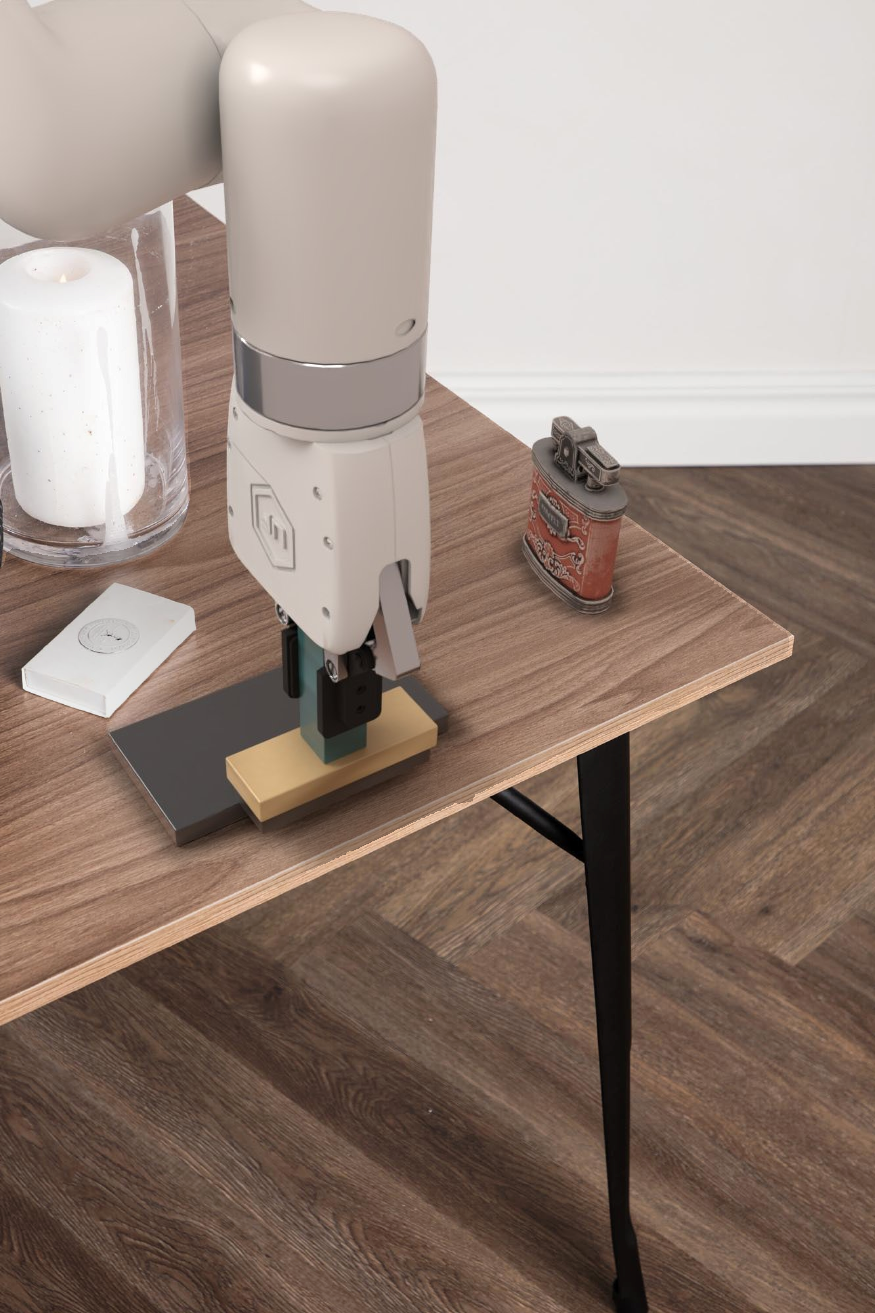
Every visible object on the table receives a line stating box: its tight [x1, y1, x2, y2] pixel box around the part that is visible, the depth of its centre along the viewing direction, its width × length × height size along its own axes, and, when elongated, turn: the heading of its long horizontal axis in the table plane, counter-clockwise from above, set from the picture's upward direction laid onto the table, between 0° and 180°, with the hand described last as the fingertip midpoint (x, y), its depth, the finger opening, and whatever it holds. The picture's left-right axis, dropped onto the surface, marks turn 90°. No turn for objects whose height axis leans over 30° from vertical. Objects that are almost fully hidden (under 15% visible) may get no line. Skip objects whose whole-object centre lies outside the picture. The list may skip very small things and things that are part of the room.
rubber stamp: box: [226, 626, 438, 835], centre depth 67 cm, size 10×4×11 cm, turn 124°
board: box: [107, 665, 450, 847], centre depth 75 cm, size 16×8×1 cm, turn 124°
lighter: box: [521, 415, 629, 615], centre depth 84 cm, size 8×3×10 cm, turn 27°
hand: (332, 703), depth 67 cm, fingers closed on rubber stamp, 2 cm apart
